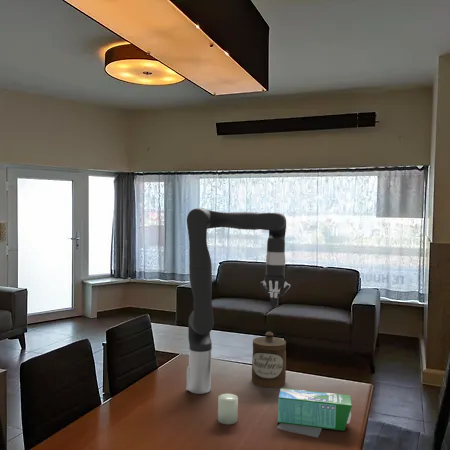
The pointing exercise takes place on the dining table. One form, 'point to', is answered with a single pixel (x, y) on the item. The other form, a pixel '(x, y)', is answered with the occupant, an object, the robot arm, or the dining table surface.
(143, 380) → the dining table surface
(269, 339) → the wooden container
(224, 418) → the pale green rounded cylinder
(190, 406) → the dining table surface
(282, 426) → the display mat
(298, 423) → the milk carton
